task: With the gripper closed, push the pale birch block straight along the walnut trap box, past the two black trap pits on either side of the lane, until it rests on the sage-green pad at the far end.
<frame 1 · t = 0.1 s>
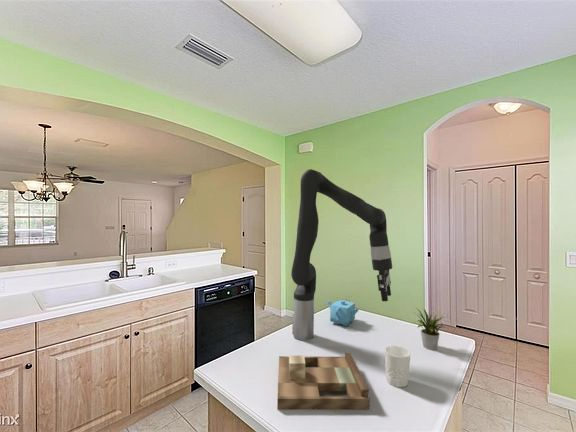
hand: (386, 298, 111), 22 cm above the table, tool pointing down, fingers open, 8 cm apart
white cup: (397, 382, 93), on the table
birch block: (296, 374, 91), point 3 cm above the table, touching trap box
trap box: (318, 384, 91), on the table
house plant: (426, 346, 119), on the table
teapot: (341, 322, 145), on the table
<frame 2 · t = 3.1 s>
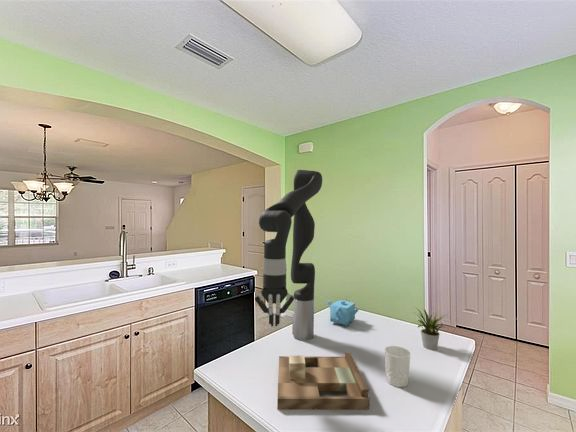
hand: (274, 325, 91), 19 cm above the table, tool pointing down, fingers closed
nothing on the table moved.
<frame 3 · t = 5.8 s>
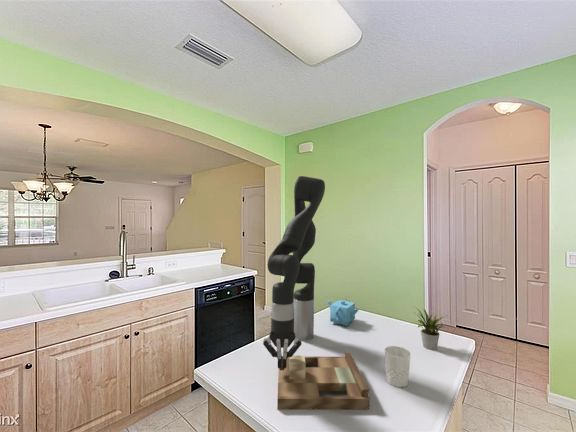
hand: (281, 369, 91), 5 cm above the table, tool pointing down, fingers closed
birch block: (296, 374, 91), point 3 cm above the table, touching gripper
everything else where it was.
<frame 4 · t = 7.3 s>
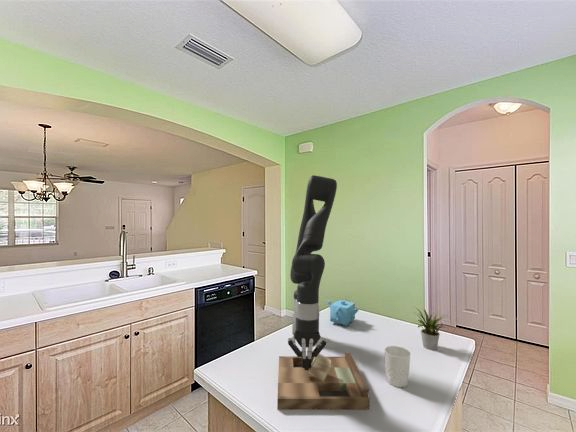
hand: (306, 368, 91), 5 cm above the table, tool pointing down, fingers closed
birch block: (316, 373, 90), point 4 cm above the table, tilted 26°, touching gripper, hand, trap box
everything else where it was.
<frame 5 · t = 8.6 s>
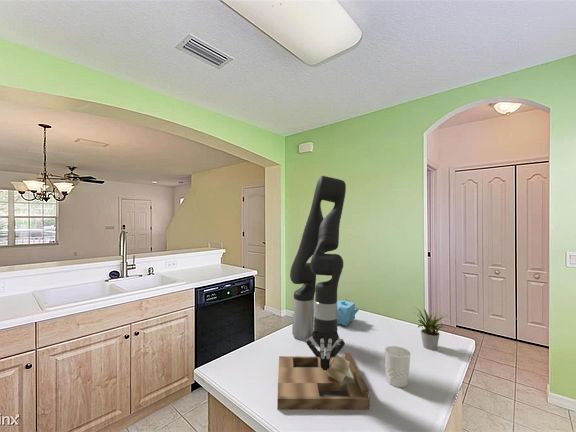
hand: (324, 369, 91), 5 cm above the table, tool pointing down, fingers closed
birch block: (334, 374, 90), point 4 cm above the table, tilted 25°, touching gripper, hand, trap box
everything else where it was.
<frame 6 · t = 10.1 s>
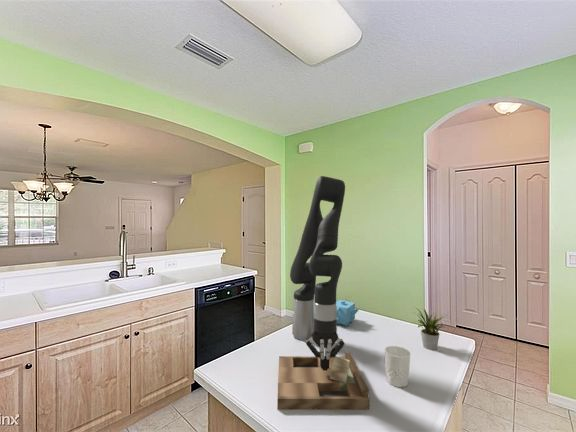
hand: (324, 369, 91), 5 cm above the table, tool pointing down, fingers closed
birch block: (338, 376, 90), point 3 cm above the table, tilted 10°, touching gripper, trap box
everything else where it was.
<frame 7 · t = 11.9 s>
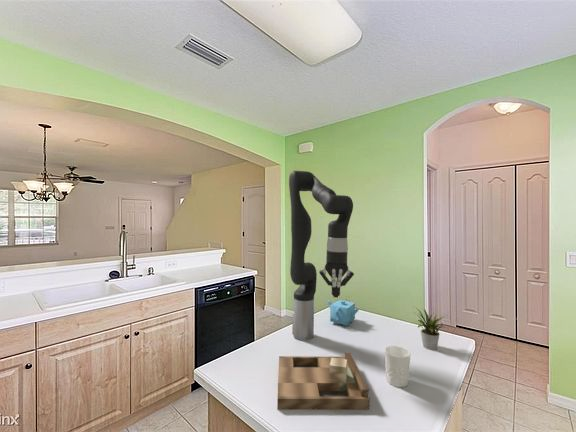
hand: (335, 296, 103), 25 cm above the table, tool pointing down, fingers closed
birch block: (338, 377, 90), point 3 cm above the table, touching trap box
everything else where it was.
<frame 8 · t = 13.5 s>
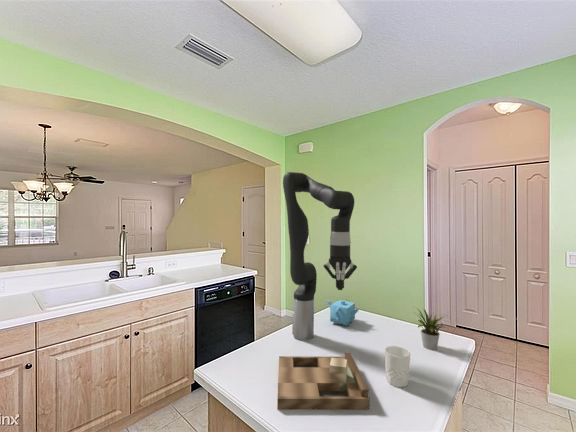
hand: (339, 289, 106), 27 cm above the table, tool pointing down, fingers closed
nothing on the table moved.
at the end: birch block 2.6 cm from the target spot on the trap box, point 3.0 cm above the trap box's base; birch block tilted 0°; birch block moved 13.3 cm from its start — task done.
